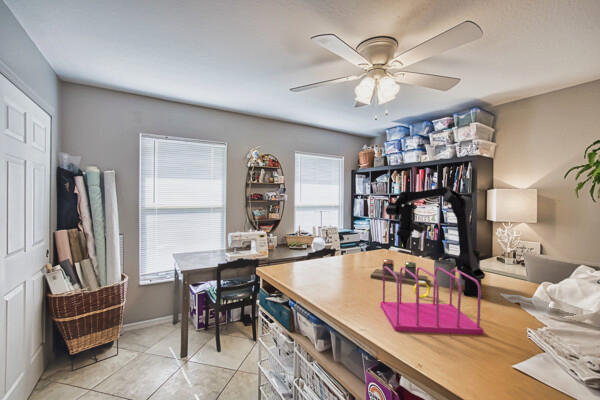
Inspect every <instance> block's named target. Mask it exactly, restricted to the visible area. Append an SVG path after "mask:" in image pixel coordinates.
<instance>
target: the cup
mask: <svg viewBox="0 0 600 400" xmlns="http://www.w3.org/2000/svg"><path fill="white" fill-rule="evenodd" d="M433 263H434V264H433V265H434V266H433V273H434V272H435V269H436V267H440V268H442V269H444V270H445V271H447V272H449V273H451V271H452V269H457V267H455V265H456V262H453V261H450V260H441V259H438V260H437V259H436V260H434V262H433ZM456 272H457V271H453V275H454V276H456V274H457V273H456ZM436 278H437V281H438V287H441V288H444V289H447V288H448V289H450V275H448V274H447V273H445V272H443V271H442V270H440V269H437V273H436ZM455 287H456V279H455V278H453V277H452V289H453V288H455Z"/></svg>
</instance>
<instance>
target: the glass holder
mask: <svg viewBox="0 0 600 400" xmlns="http://www.w3.org/2000/svg"><path fill="white" fill-rule="evenodd" d="M473 253H474V255H475V257H476V258H477V262H478V265H479V268H480V269H481V261H480V256H481V255H480V253H481V252H480V250H475V249H473ZM458 279H459V281H460V283H461V286H464V284H465V280H462V277H461V274H460V273H459V272H458Z"/></svg>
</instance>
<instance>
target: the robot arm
mask: <svg viewBox="0 0 600 400" xmlns="http://www.w3.org/2000/svg"><path fill="white" fill-rule="evenodd" d="M438 197H439V198H440V197H443V198H444V200H446V202H447V203H449V204H450V206H451V210H452V212H453V214H454V216H455V218H456V225H457V226H456V227H457V235H458V246H459V254H458V256H457V255H456V256H455V257H454V261H455V262H454V263H455V264H456V265H455V267H456V269H457V270H459V271H461V272H463V273H465V274H467V275H468V276H470V277H472V278H474V279H476V280H477V281H478V282H479V284H480V288H481V289H482V280H484V279H485V277H486V273H485V272H484V271H483V270H482V269H481V267H480V268H479V265H478V262H477V258H476V257H475V255H474V253H473V250H474V249H473V240H472V239H473V238H472V230H471V215H472V212H473V205H474V204H473V200H472V198H470V197H468V196H464V195H463V194H461V193H459V192H457V191H455V190H453V189H452V188H451V187H449V186H441V187H437V188H431V189H425V190H421V191H420V190H419V191H401V192H400V193H399V196H398V197H397V199H396V200H395V202H393V201H388V204H387V206H386V208H385V213H386V215H388V216H395V217H399V227H398V229H397V230H396V236H398V237H399V239H400V242H401V245H402V247H403V249H406V248H407V246H408V243H409V239H410V238H411V237H412V236H413V233H414V232H415V231H416V232H418V233H419V234H423V232H424V230H425V228H426V226H424V224H423V222H421V221H420V222H414V218H413V215H414V209H418V206H417V205H416V204H415V203H416V202H419V201H420V200H425V199H431V198H438ZM461 277H462V280H465V284H464V285H463V287H464V289H462V294H463V296H466V297H472V298H473V297H474V298H478V286H477V284H476V282H475V281H473V280H471V279H470V278H468V277H466V276H464V275H462V274H461ZM481 299H484V295H483V294H482V292H481Z"/></svg>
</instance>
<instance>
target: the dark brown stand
mask: <svg viewBox="0 0 600 400" xmlns="http://www.w3.org/2000/svg"><path fill="white" fill-rule="evenodd" d="M384 266H387V267H388V268H389V269H390V270H391V271H393V272H394V273H395V274H396V275H397V277H398V281H399V284H400V271H395V268H394V267H395V263H394V262H393V265H387V264H384V263H383V262H382V269H381V268H379V269H378V268H375V269H374V271H372V273H370V279H373V280H381V281H383V269H384ZM404 268H406V269H407V270H409V271H410V272H411V273H413V274H414V275H415V276H416V272H417V266H416V267H415V268H409V267H406V266H404ZM418 281H424V282H426V284H427V285H428V276H426V275H420V274H418ZM385 282H392V283H393V282H394V283H397V281H396V278H395V276H394V275H393V274H392V273H391V272H390V271H388V270H387V269H385ZM402 284H405V285H412V286H415V284H416V279H415V278H414V277H413V276H412V275H411V274H409V273H408V272H407V271H405V270H404V272H402ZM426 284H425V285H422V284H420V285H419V287H423V288H424V287H425V288H427V286H426Z"/></svg>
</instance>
